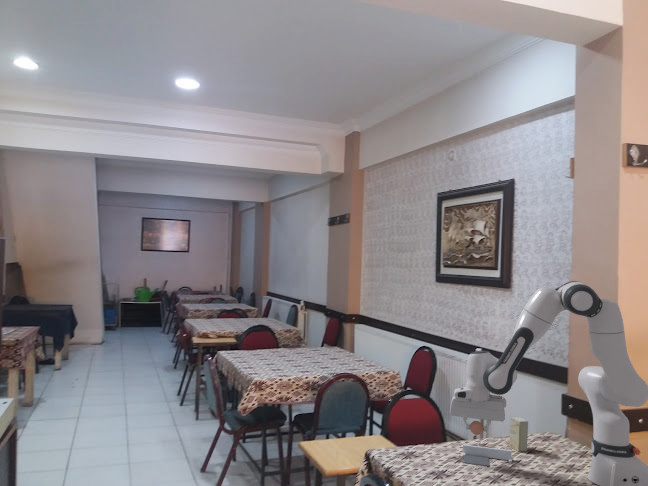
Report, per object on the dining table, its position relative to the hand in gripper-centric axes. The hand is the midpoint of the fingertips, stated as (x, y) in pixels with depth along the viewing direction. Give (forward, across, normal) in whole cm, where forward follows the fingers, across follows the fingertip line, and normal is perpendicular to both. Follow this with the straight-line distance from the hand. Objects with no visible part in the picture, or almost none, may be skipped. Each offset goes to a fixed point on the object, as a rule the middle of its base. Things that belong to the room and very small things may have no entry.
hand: (476, 430), depth 196 cm
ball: (+2, 0, 0) cm, 2 cm away
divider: (+11, -4, -6) cm, 13 cm away
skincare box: (+11, -17, -20) cm, 29 cm away
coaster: (+12, 0, 0) cm, 12 cm away
